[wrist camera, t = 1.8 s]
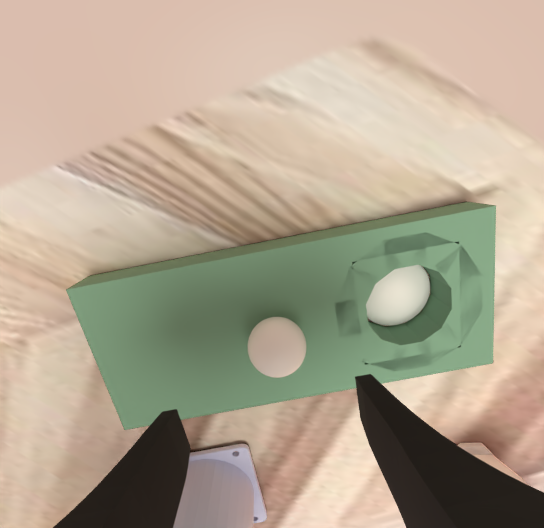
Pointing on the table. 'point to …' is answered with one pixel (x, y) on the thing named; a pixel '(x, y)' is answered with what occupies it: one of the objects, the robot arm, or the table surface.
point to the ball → (276, 347)
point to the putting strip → (295, 313)
